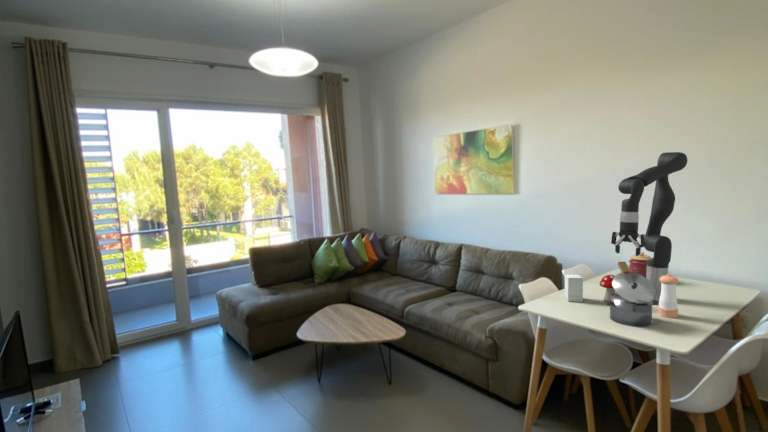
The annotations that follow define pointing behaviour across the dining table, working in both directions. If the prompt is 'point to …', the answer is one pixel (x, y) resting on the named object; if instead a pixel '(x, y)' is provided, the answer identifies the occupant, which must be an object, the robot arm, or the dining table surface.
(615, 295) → the cooker pot
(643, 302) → the cooker lid
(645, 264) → the canister
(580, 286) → the supplement box
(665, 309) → the pepper shaker
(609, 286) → the decorative mushroom
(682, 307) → the dining table surface
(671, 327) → the dining table surface
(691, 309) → the dining table surface
